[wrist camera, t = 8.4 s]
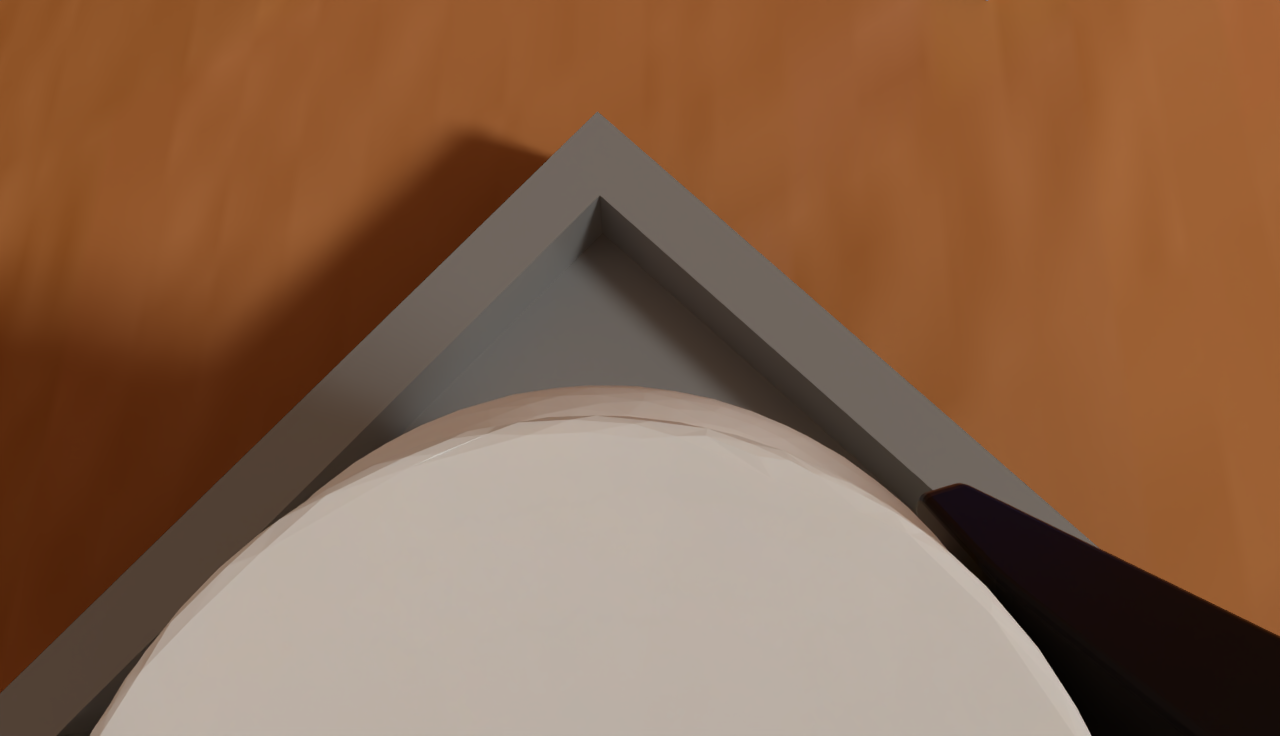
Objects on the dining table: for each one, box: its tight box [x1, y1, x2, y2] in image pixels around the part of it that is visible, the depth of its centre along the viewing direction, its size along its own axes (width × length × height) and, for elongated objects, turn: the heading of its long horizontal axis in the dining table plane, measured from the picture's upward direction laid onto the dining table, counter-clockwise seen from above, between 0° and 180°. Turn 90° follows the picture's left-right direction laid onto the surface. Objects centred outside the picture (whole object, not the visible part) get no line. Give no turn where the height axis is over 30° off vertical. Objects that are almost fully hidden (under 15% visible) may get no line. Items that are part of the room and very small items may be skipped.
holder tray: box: [0, 112, 1098, 736], centre depth 16 cm, size 13×13×2 cm
